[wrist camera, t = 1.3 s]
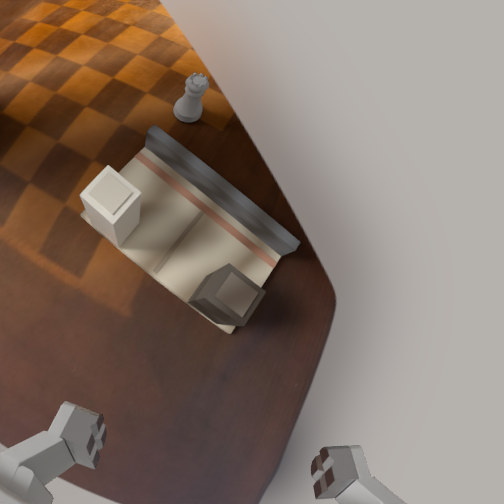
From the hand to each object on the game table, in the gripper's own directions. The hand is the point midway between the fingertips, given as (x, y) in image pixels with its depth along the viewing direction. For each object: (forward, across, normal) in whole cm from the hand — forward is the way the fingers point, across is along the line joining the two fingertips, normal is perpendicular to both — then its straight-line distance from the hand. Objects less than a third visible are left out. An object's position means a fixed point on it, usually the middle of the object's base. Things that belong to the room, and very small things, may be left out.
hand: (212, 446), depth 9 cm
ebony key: (+26, +1, +9) cm, 28 cm away
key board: (+31, +6, +3) cm, 32 cm away
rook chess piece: (+41, +10, -12) cm, 44 cm away
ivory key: (+27, +14, +2) cm, 31 cm away
